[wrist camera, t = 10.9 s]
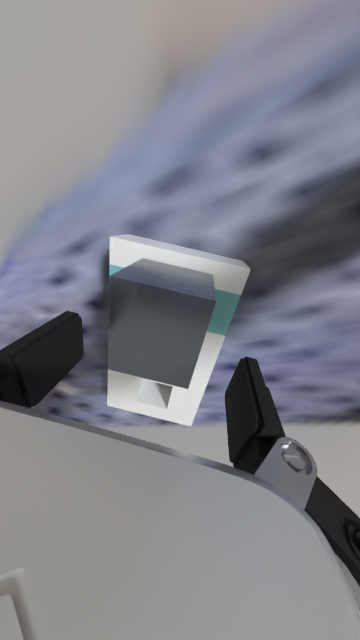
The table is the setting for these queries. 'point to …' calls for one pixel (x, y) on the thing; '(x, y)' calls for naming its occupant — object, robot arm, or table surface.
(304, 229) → the table surface
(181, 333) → the grey rectangular block
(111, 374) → the docking board
